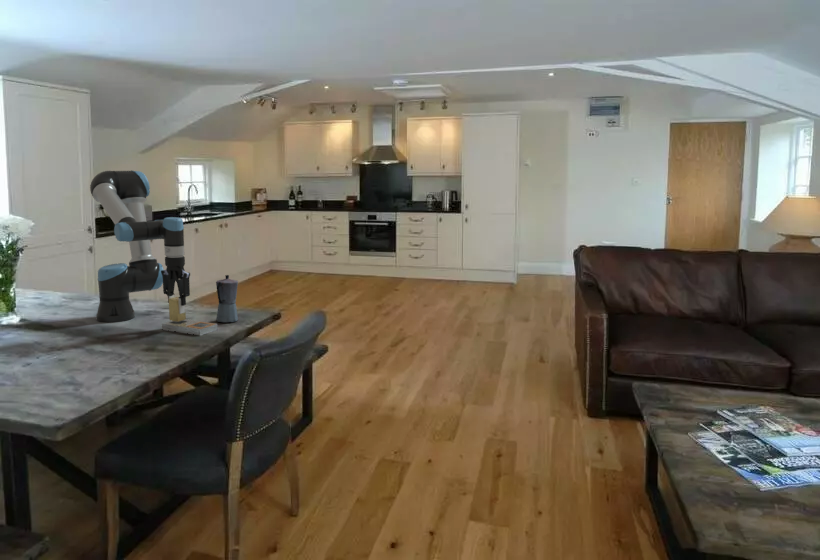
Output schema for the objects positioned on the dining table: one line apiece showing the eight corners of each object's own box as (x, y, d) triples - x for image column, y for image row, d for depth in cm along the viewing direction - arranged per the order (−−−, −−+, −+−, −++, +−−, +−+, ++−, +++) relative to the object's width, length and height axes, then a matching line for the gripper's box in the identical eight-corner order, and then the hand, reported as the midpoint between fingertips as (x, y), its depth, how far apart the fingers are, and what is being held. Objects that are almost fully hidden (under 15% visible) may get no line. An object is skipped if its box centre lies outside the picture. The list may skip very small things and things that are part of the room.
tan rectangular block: (169, 320, 256) (168, 298, 254) (177, 317, 260) (176, 296, 258) (177, 321, 254) (176, 300, 252) (185, 319, 258) (184, 298, 256)
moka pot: (244, 317, 276) (243, 272, 273) (231, 326, 261) (229, 279, 257) (223, 316, 277) (221, 272, 273) (209, 325, 262) (207, 278, 258)
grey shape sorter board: (162, 329, 254) (161, 323, 254) (180, 324, 263) (180, 317, 263) (200, 335, 246) (199, 328, 245) (217, 329, 255) (217, 323, 254)
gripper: (151, 255, 252) (154, 311, 256) (184, 259, 245) (187, 316, 249) (165, 253, 258) (168, 307, 263) (198, 256, 251) (200, 312, 256)
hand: (177, 312), depth 256 cm, fingers closed on tan rectangular block, 4 cm apart
